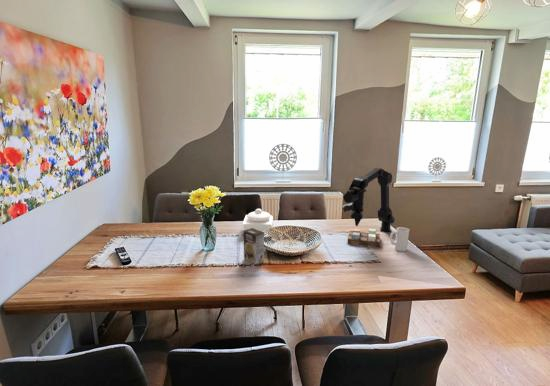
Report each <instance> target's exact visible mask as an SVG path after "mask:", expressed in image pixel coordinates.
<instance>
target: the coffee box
mask: <svg viewBox="0 0 550 386" xmlns="http://www.w3.org/2000/svg"><path fill="white" fill-rule="evenodd" d="M264 249H265V238H264V232H262V231H259V230H256V229H254V228H251V229H247V230H244V229H243V259H244V260H245V261H247V262H249V263H252V264H254V265H257V264H259V263H262V262H264V261H265V250H264Z"/></svg>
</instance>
